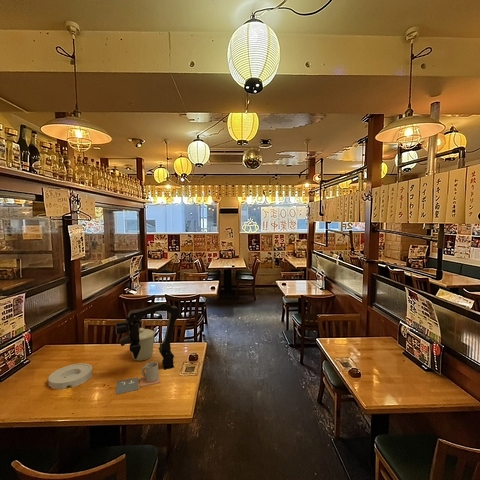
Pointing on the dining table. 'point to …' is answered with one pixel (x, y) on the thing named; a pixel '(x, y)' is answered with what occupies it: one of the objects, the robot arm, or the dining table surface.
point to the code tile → (127, 385)
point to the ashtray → (70, 376)
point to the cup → (151, 372)
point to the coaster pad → (145, 383)
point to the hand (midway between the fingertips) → (135, 355)
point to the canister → (145, 344)
